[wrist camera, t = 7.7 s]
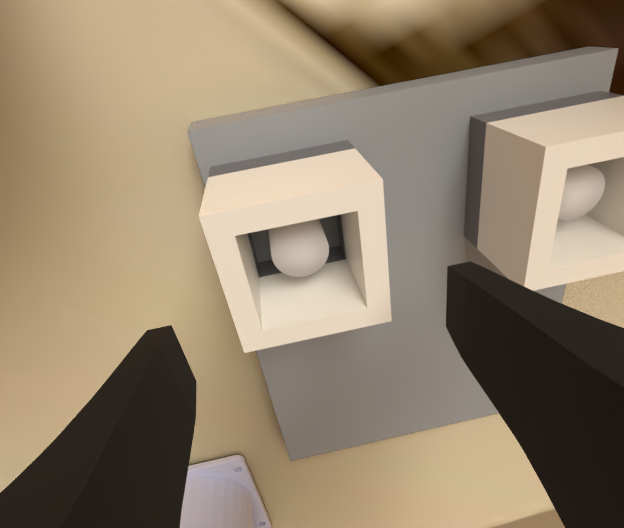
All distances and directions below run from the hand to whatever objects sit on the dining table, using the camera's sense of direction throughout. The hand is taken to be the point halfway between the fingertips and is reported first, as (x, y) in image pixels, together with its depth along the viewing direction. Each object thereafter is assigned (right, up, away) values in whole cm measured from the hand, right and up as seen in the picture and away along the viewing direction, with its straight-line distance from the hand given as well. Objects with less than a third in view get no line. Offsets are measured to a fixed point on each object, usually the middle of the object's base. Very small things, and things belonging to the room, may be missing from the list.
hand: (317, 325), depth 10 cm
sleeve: (-1, +3, +6) cm, 7 cm away
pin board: (+5, 0, +10) cm, 11 cm away
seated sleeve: (+9, +6, +6) cm, 12 cm away
